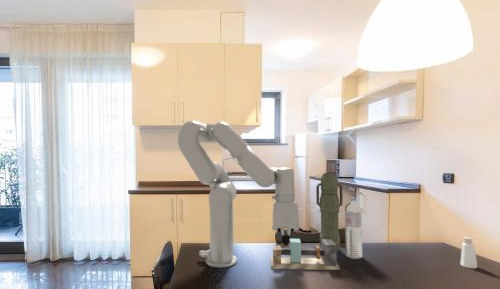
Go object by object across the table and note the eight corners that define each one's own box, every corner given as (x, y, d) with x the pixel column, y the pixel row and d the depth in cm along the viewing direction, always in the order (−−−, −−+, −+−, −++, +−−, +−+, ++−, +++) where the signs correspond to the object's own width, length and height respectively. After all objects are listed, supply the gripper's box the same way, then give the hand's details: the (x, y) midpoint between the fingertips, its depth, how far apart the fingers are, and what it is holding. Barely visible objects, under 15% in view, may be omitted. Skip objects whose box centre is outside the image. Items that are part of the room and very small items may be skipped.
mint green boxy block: (290, 262, 106) (290, 242, 106) (289, 257, 110) (289, 238, 111) (301, 262, 106) (301, 242, 106) (299, 257, 110) (299, 238, 111)
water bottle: (364, 260, 112) (363, 199, 113) (346, 258, 114) (345, 199, 115) (360, 254, 119) (359, 197, 120) (344, 253, 120) (343, 196, 121)
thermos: (314, 246, 130) (313, 172, 131) (338, 245, 131) (337, 172, 132) (320, 252, 121) (319, 174, 122) (346, 252, 122) (345, 174, 123)
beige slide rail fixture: (271, 268, 104) (271, 244, 104) (270, 259, 113) (270, 237, 113) (339, 269, 103) (339, 245, 103) (333, 260, 112) (333, 238, 112)
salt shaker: (458, 262, 111) (457, 234, 111) (475, 264, 108) (474, 236, 109) (461, 267, 106) (461, 238, 106) (479, 269, 103) (478, 240, 104)
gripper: (266, 200, 106) (267, 247, 105) (305, 199, 105) (306, 247, 104) (266, 197, 113) (266, 241, 112) (302, 196, 113) (303, 241, 112)
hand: (285, 244), depth 108 cm, fingers closed
